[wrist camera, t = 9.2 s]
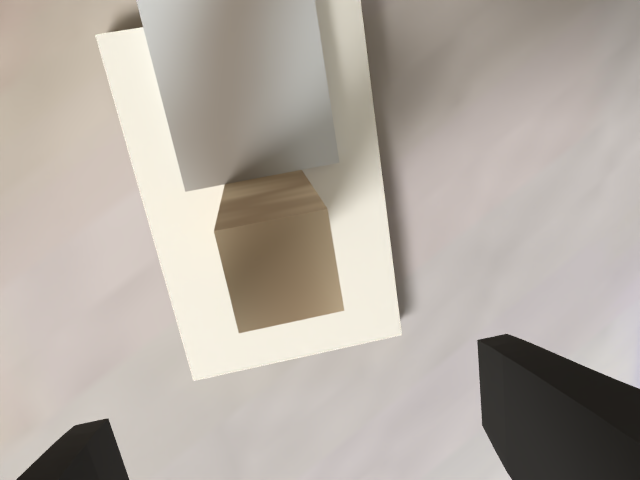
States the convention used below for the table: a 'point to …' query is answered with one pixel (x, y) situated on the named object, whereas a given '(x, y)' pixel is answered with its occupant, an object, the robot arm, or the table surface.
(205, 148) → the grey plate tan block
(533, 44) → the table surface
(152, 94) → the trivet
